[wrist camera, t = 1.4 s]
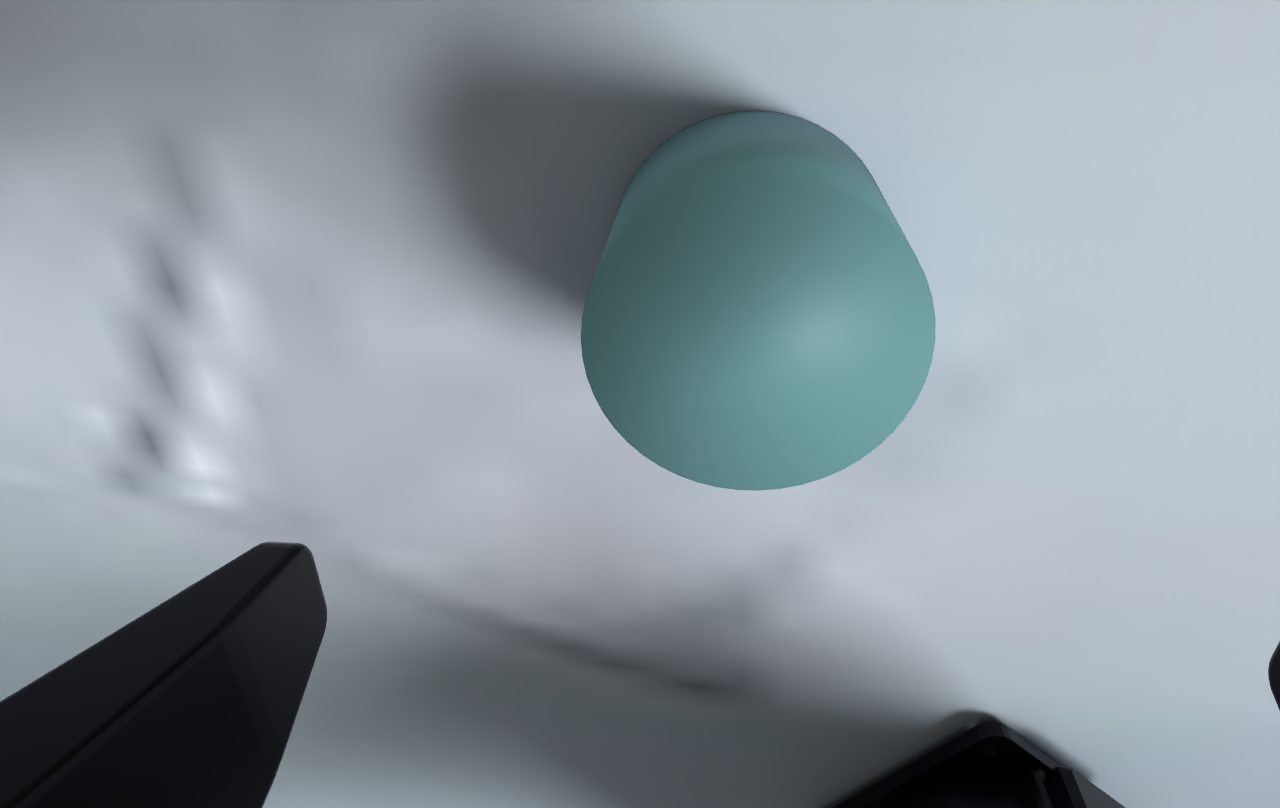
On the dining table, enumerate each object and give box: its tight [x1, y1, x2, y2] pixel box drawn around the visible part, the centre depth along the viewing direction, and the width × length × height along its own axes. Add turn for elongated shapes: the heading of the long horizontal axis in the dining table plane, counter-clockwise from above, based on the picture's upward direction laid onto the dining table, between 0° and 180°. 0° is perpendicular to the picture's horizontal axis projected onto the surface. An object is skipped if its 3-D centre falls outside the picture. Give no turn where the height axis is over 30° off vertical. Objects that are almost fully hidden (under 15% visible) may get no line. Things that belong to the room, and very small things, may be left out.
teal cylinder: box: [581, 111, 935, 490], centre depth 14 cm, size 5×5×4 cm
